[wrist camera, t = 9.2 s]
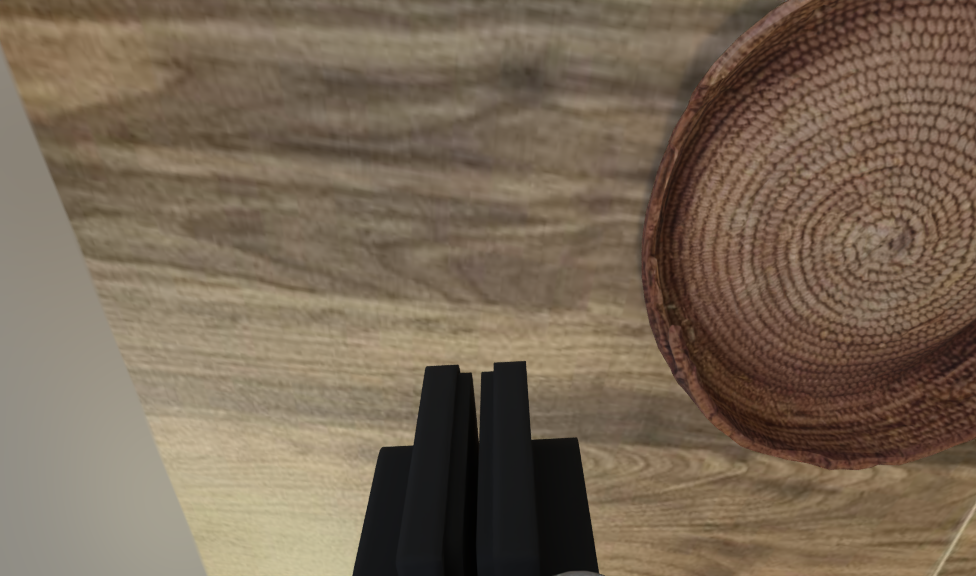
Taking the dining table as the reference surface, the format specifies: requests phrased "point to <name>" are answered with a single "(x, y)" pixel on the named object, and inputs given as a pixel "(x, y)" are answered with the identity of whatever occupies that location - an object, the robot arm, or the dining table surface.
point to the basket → (826, 234)
